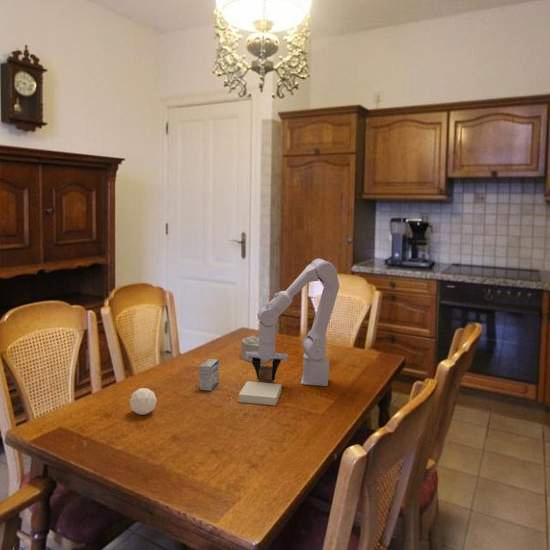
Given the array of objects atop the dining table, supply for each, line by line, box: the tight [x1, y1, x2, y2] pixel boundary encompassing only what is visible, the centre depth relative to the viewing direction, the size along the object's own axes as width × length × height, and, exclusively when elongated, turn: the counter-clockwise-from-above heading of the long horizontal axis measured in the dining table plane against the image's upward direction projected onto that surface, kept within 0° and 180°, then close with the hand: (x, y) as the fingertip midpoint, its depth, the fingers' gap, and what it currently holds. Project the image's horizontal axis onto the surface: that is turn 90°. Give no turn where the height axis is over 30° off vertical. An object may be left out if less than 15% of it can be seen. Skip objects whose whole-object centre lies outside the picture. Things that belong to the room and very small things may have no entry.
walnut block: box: [258, 364, 275, 383], centre depth 173 cm, size 5×5×6 cm
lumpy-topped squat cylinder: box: [240, 335, 270, 364], centre depth 202 cm, size 10×13×9 cm
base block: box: [238, 380, 282, 406], centre depth 163 cm, size 12×12×3 cm
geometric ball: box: [129, 387, 158, 416], centre depth 148 cm, size 8×8×8 cm
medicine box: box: [198, 358, 220, 392], centre depth 170 cm, size 8×4×9 cm, turn 168°
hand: (266, 379), depth 174 cm, fingers closed on walnut block, 5 cm apart
